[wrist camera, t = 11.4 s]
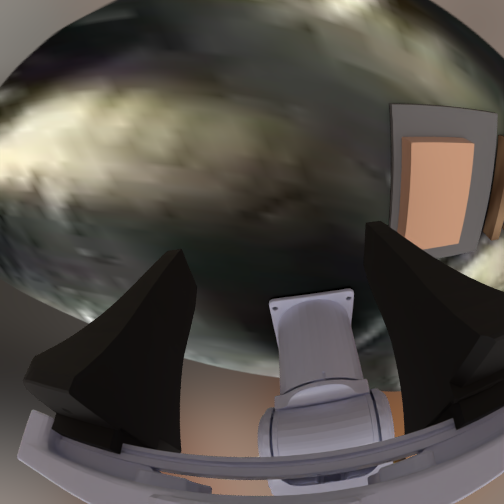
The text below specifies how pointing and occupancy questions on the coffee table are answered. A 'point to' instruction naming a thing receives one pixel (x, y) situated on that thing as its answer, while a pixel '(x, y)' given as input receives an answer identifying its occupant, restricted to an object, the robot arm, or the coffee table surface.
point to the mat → (447, 125)
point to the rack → (496, 197)
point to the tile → (434, 189)
